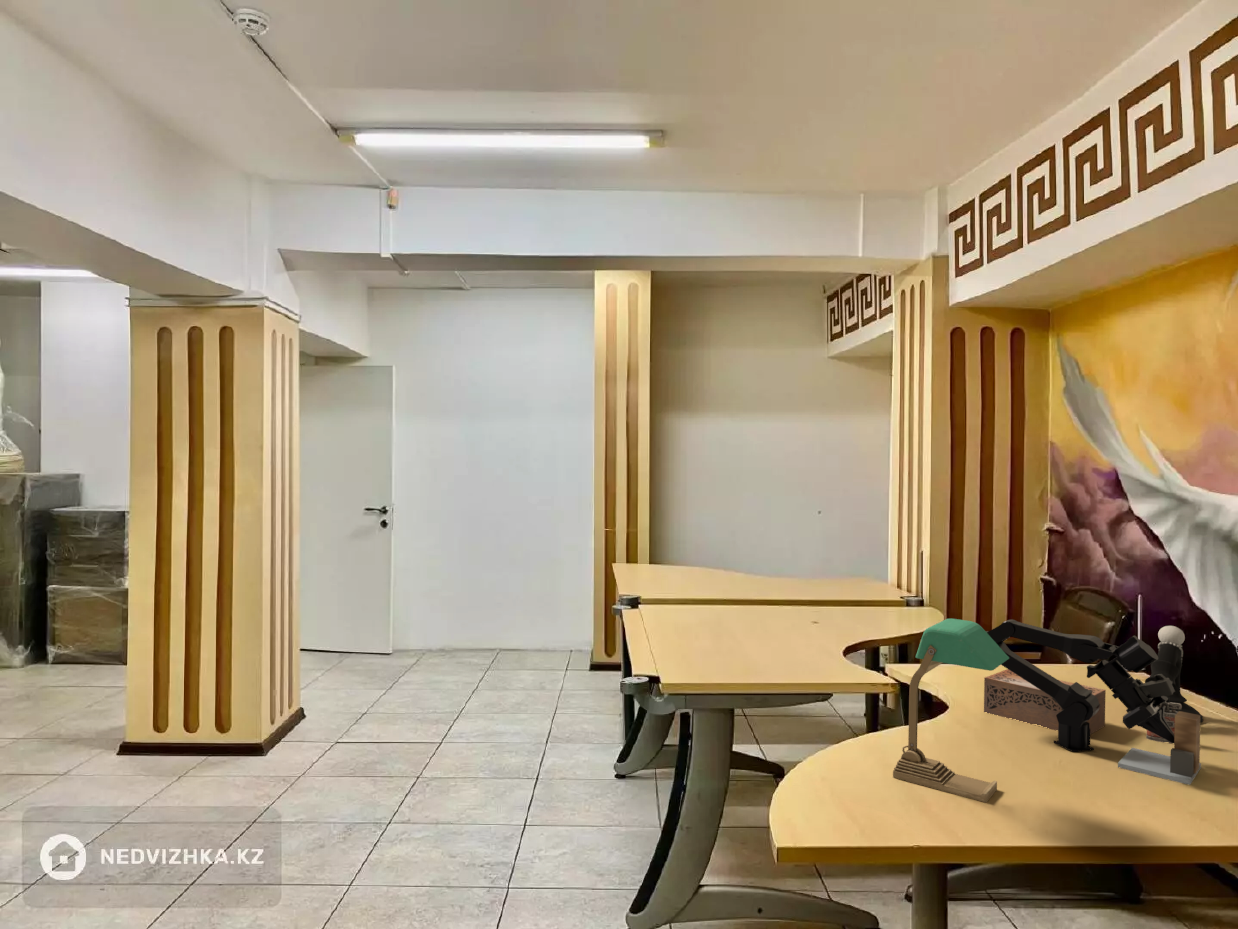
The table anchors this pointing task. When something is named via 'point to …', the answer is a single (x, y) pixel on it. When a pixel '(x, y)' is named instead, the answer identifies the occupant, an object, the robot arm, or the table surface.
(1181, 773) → the grey stand
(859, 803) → the table surface
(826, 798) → the table surface
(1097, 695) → the tissue box cover
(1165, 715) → the lighter
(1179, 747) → the tall wooden post
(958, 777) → the banker's lamp
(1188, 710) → the sculpture
